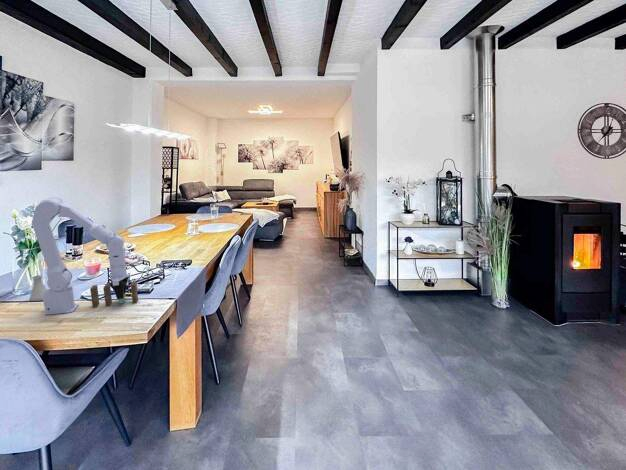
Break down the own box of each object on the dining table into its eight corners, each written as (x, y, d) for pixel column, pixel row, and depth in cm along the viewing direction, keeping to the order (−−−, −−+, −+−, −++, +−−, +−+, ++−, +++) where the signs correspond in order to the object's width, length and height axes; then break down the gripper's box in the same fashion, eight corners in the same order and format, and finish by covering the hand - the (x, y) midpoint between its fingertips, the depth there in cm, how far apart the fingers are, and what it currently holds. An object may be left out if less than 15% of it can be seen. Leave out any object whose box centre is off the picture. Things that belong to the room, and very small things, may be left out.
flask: (39, 302, 154) (36, 279, 152) (25, 301, 156) (21, 278, 154) (55, 296, 161) (51, 274, 159) (41, 295, 163) (37, 273, 161)
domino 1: (92, 307, 149) (90, 288, 147) (95, 303, 153) (93, 285, 151) (96, 307, 149) (94, 288, 148) (99, 303, 153) (97, 285, 151)
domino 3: (119, 303, 151) (117, 284, 150) (121, 299, 155) (119, 281, 154) (123, 303, 152) (121, 284, 150) (125, 299, 156) (123, 281, 154)
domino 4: (132, 303, 153) (130, 285, 151) (134, 299, 157) (132, 282, 155) (136, 303, 153) (134, 284, 152) (138, 299, 157) (136, 281, 156)
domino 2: (105, 306, 150) (103, 287, 148) (108, 302, 154) (105, 284, 152) (109, 305, 150) (107, 287, 149) (112, 302, 154) (109, 283, 153)
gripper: (125, 269, 145) (128, 301, 147) (131, 259, 158) (134, 289, 161) (105, 270, 143) (109, 303, 145) (113, 261, 156) (116, 291, 159)
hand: (121, 296), depth 153 cm, fingers closed on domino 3, 4 cm apart
